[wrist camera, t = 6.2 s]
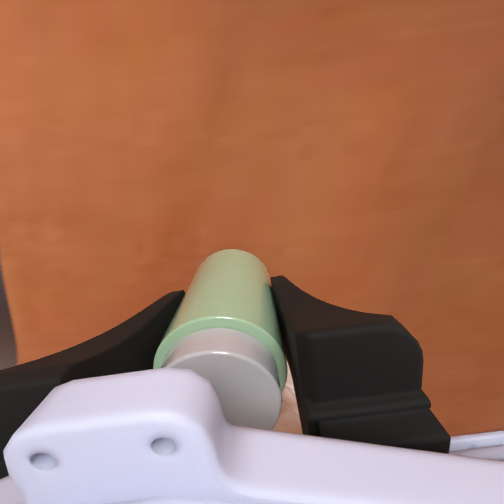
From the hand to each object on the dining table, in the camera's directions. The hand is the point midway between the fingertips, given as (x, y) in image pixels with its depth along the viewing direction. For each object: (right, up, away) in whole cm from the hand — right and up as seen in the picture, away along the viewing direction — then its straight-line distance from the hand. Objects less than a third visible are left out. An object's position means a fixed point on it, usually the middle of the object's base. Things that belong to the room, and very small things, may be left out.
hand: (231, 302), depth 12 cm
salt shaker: (0, +1, +2) cm, 2 cm away
